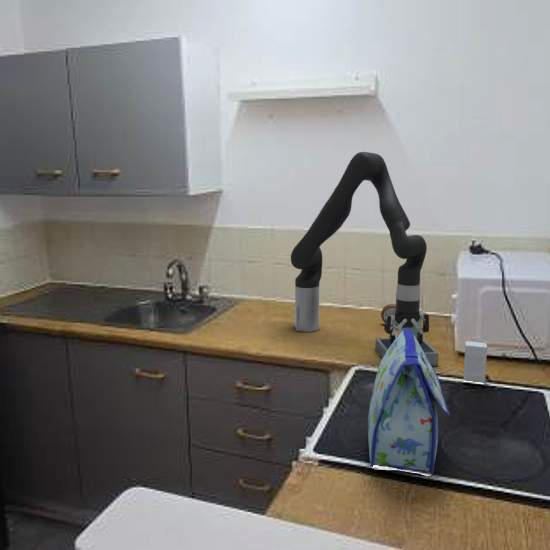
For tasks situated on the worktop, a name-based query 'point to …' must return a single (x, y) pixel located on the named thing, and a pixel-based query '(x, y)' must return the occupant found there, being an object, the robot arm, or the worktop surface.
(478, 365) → the skincare box
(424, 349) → the large crate
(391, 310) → the tin
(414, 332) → the coffee cup
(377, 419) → the lunch bag
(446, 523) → the worktop surface
